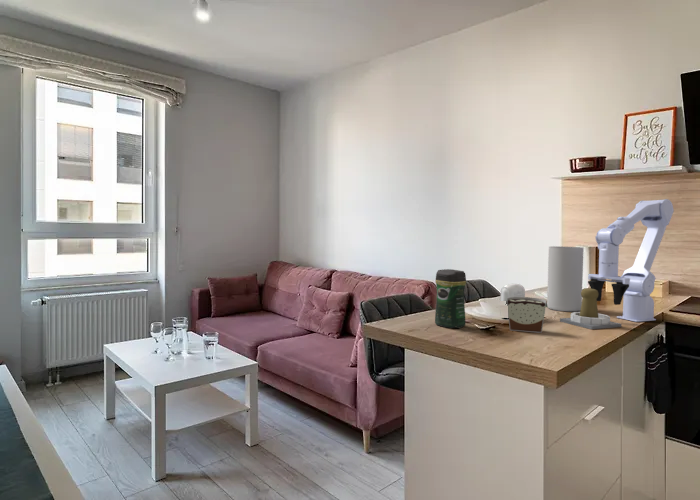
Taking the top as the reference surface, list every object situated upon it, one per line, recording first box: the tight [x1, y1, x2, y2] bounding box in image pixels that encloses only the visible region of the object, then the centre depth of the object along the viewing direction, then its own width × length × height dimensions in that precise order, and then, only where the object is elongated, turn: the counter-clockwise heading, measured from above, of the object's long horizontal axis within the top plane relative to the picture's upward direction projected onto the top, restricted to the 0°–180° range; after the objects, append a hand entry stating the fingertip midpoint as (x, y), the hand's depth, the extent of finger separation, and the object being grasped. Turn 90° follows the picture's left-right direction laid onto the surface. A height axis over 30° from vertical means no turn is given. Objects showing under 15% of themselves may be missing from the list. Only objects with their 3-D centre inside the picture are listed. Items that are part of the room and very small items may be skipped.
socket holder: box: [559, 311, 623, 330], centre depth 149 cm, size 13×13×3 cm
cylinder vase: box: [546, 246, 585, 313], centre depth 177 cm, size 12×12×25 cm
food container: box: [505, 296, 549, 334], centre depth 140 cm, size 12×6×10 cm, turn 71°
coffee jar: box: [434, 268, 467, 329], centre depth 145 cm, size 10×8×19 cm
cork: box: [579, 287, 599, 318], centre depth 149 cm, size 6×6×11 cm
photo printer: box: [499, 283, 526, 302], centre depth 159 cm, size 10×4×12 cm, turn 123°
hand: (607, 302), depth 151 cm, fingers open, 7 cm apart
